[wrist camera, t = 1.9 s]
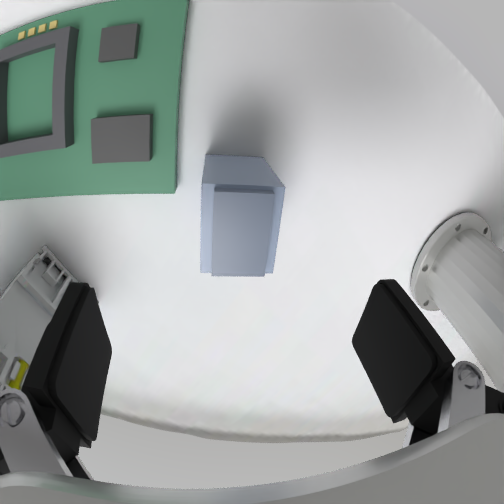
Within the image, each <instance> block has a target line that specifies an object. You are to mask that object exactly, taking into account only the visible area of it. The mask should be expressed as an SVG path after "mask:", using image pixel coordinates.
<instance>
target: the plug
mask: <svg viewBox="0 0 504 504" xmlns="http://www.w3.org/2000/svg"><path fill="white" fill-rule="evenodd" d="M284 193H285V186H284V185H283V184H282V182H281V181H280V179H279V178H278V177H277V175H276V174H275V173H274V171H273V170H272V169H271V168H270V166H269V165H268V164H267V162H266V161H265V160H264V158H263V157H249V156H231V155H205V163H204V170H203V178H202V193H201V252H200V270H201V273H212V276H264V275H265V273H273V268H274V262H275V255H276V248H277V242H278V235H279V228H280V221H281V214H282V207H283V200H284Z"/></svg>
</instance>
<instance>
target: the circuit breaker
mask: <svg viewBox="0 0 504 504" xmlns="http://www.w3.org/2000/svg"><path fill="white" fill-rule="evenodd" d="M41 250H42V251H43V253H42V254H41V255H40V254H39V253H37V254H36V255H35V256H34V257H33V258H32V259H31V260H30V261H29V262H28V264H27V265H26V266H25V267H24V268H23V269H22V270H21V271H20V273H19V274H18V275H17V276H16V277H15V278H14V280H13V281H12V282H11V283H10V284H9V286H8V287H7V289H6V290H5V291H4V293H3V294H2V296H1V297H0V392H1V391H3V390H5V389H9V388H15V389H18V390H20V391H21V388H22V385H23V383H24V380H25V377H26V374H27V372H28V369H29V366H30V364H31V361H32V359H33V356H34V354H35V352H36V349H37V347H38V344H39V342H40V340H41V338H42V335H43V333H44V331H45V329H46V327H47V325H48V323H50V321H51V319H52V317H53V315H54V313H55V311H56V309H57V307H58V305H59V303H60V301H61V299H62V297H63V295H64V293H65V291H66V289H67V287H68V285H69V284H70V283H69V282H78V281H77V280H76V279H75V278H74V277H73V276H72V274H71V273H70V272H69V271H68V270H67V269H66V268H65V267H64V266H63V265H62V264H61V262H60V261H59V260H58V259H57V258H56V257H55V256H54V255H53V253H52V252H51V251H50V250H49V249H48V248H47V247H46V245H44V246H43V247H42V248H41ZM47 256H48V257H49V259H50V260H51V261H52V262H51V263H50V264H49V265H48V266H47V265H46V264H45V262H44V261H43V259H44V258H46V257H47ZM54 263H55V265H56V266H57V267H58V268H59V269H60V270H61V272H60V271H59V270H58V269H57V268H56V267H55V266H54ZM63 274H64V275H65V276H66V278H64V277H63V276H62V275H63ZM98 303H99V302H98Z"/></svg>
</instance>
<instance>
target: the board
mask: <svg viewBox="0 0 504 504" xmlns="http://www.w3.org/2000/svg"><path fill="white" fill-rule="evenodd" d="M188 5H189V0H116V1H110V2H104V3H99V4H94V5H90V6H85V7H81V8H77V9H73V10H70V11H66V12H62V13H59V14H56V15H52V16H49V17H46V18H43V19H40V20H37V21H35V22H32V23H29V24H26V25H24V26H21V27H19V28H16V29H14V30H12V31H9V32H7V33H5V34H2V35H0V201H2V200H13V199H25V198H39V197H55V196H74V195H99V194H175V191H176V188H177V134H178V112H179V94H180V80H181V68H182V57H183V46H184V37H185V28H186V20H187V13H188Z"/></svg>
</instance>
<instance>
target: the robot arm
mask: <svg viewBox="0 0 504 504" xmlns="http://www.w3.org/2000/svg"><path fill="white" fill-rule="evenodd" d="M411 292H412V295H413V298H414V299H415V301H416V302H417V303H418V305H419V306H420V307H421V308H423V309H425V310H428V311H437V310H441V312H442V313H443V314H444V315H445V317H446V318H447V319H448V320H449V322H450V323H451V324H452V326H453V327H454V328H455V329H456V331H457V332H458V333H459V335H460V336H461V337H462V339H463V340H464V342H465V343H466V344H467V346H468V347H469V348H470V350H471V351H472V353H473V354H474V355H475V357H476V358H477V360H478V361H479V363H480V364H481V365H482V367H483V368H484V370H485V371H486V373H487V374H488V376H489V377H490V379H491V380H492V382H493V383H494V385H495V387H496V388H497V390H495V389H493V388H491V387H489V386H486V385H485V381H484V376H483V374H482V372H481V371H480V369H479V368H478V367H477V366H476V365H474V364H473V363H471V362H468V361H460V362H458V363H457V364H456V365H455V366H454V367H453V366H452V363H453V362H454V360H455V357H454V356H453V354H452V353H451V351H450V350H449V349H448V347H447V346H446V344H445V343H444V342H443V340H442V339H441V338H440V336H439V335H438V333H437V332H436V331H435V329H434V328H433V327H432V325H431V324H430V323H429V321H428V320H427V319H426V317H425V316H424V315H423V314H422V312H421V311H420V310H419V308H418V307H417V306H416V305H415V303H414V302H413V301H412V300H411V298H410V297H409V296H408V295H407V293H406V292H405V291H404V290H403V288H402V287H401V286H400V285H399V284H398V282H397V281H396V280H394V279H387V280H379V281H378V282H377V284H375V285H374V287H373V289H372V291H371V294H370V297H369V299H368V302H367V304H366V307H365V309H364V312H363V314H362V316H361V319H360V321H359V324H358V326H357V328H356V331H355V333H354V335H353V338H352V344H353V347H354V349H355V351H356V353H357V355H358V357H359V359H360V361H361V363H362V365H363V367H364V369H365V371H366V373H367V375H368V377H369V379H370V381H371V383H372V385H373V387H374V389H375V392H376V394H377V396H378V398H379V400H380V402H381V404H382V406H383V408H384V411H385V413H386V414H387V416H388V417H391V419H392V421H393V423H396V422H399V421H402V420H405V419H406V418H407V417H408V419H409V425H408V429H407V433H406V436H405V440H404V443H403V447H402V449H400V450H398V451H395V452H392V453H389V454H387V455H384V456H381V457H378V458H375V459H372V460H369V461H367V462H363V463H360V464H357V465H353V466H350V467H347V468H343V469H339V470H336V471H332V472H327V473H323V474H319V475H315V476H310V477H305V478H300V479H295V480H289V481H283V482H277V483H270V484H263V485H254V486H245V487H232V488H214V489H169V488H153V487H139V486H130V485H121V484H113V483H105V482H100V481H94V479H93V478H92V476H91V475H90V473H89V472H88V471H87V469H86V468H85V466H84V465H83V463H82V462H81V460H80V459H79V457H78V453H79V446H82V447H87V448H91V443H92V441H95V440H96V438H97V432H98V425H99V418H100V412H101V406H102V400H103V395H104V389H105V384H106V379H107V374H108V369H109V364H110V360H111V355H112V347H111V343H110V340H109V337H108V334H107V331H106V328H105V325H104V322H103V319H102V315H101V312H100V309H99V305H98V301H97V298H96V294H95V291H94V289H93V288H90V287H89V285H88V283H79V282H71V283H70V284H69V285H68V287H67V289H66V291H65V293H64V295H63V297H62V299H61V301H60V303H59V305H58V307H57V309H56V311H55V313H54V315H53V317H52V319H51V321H50V323H48V325H47V327H46V329H45V331H44V333H43V335H42V338H41V340H40V342H39V344H38V347H37V349H36V352H35V354H34V356H33V359H32V361H31V364H30V366H29V369H28V372H27V374H26V377H25V380H24V383H23V385H22V388H21V391H20V390H18V389H15V388H9V389H5V390H3V391H1V392H0V504H504V252H503V251H502V250H501V249H500V248H498V247H497V246H496V245H495V244H494V243H492V237H491V230H490V227H489V225H488V223H487V222H486V221H485V220H484V219H483V218H482V217H480V216H479V215H477V214H475V213H470V212H467V213H461V214H459V215H456V216H454V217H452V218H451V219H449V220H448V221H446V222H445V223H444V224H443V225H441V226H440V227H439V228H438V229H437V230H436V231H435V232H434V234H433V235H432V236H431V237H430V238H429V240H428V241H427V243H426V244H425V245H424V247H423V249H422V251H421V252H420V254H419V256H418V259H417V261H416V263H415V266H414V269H413V273H412V278H411Z"/></svg>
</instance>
